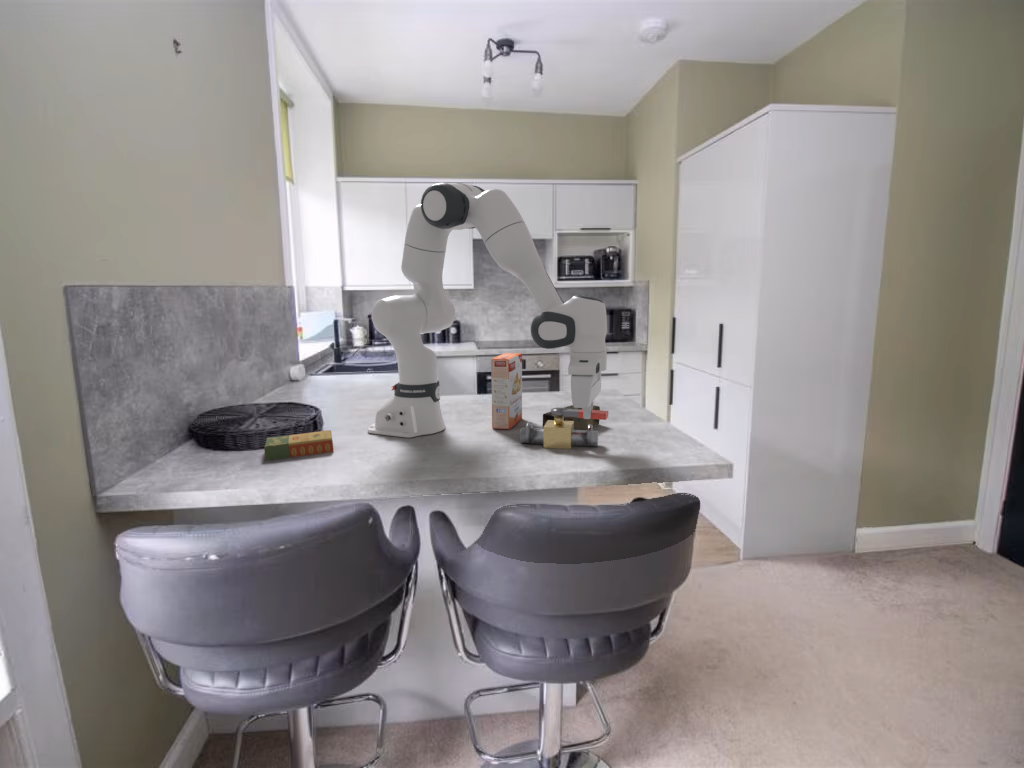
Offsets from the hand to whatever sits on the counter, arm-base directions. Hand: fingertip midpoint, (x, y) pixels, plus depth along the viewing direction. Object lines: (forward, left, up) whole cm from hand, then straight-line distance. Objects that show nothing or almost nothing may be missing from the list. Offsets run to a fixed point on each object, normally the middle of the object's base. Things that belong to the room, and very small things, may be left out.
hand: (587, 417), depth 128 cm
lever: (-3, +3, 0) cm, 4 cm away
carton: (-73, -13, -9) cm, 74 cm away
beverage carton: (-6, +19, -9) cm, 22 cm away
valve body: (-8, +4, -8) cm, 12 cm away
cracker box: (-26, +22, -9) cm, 35 cm away
